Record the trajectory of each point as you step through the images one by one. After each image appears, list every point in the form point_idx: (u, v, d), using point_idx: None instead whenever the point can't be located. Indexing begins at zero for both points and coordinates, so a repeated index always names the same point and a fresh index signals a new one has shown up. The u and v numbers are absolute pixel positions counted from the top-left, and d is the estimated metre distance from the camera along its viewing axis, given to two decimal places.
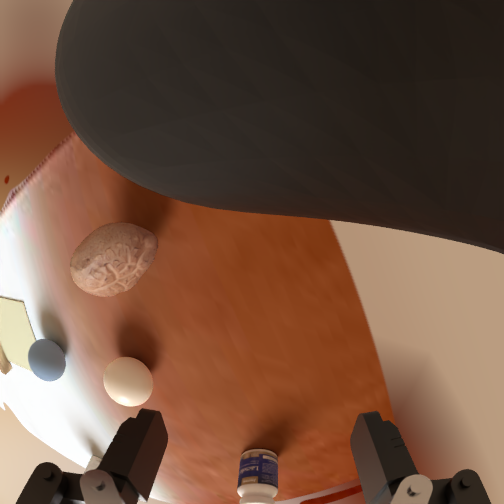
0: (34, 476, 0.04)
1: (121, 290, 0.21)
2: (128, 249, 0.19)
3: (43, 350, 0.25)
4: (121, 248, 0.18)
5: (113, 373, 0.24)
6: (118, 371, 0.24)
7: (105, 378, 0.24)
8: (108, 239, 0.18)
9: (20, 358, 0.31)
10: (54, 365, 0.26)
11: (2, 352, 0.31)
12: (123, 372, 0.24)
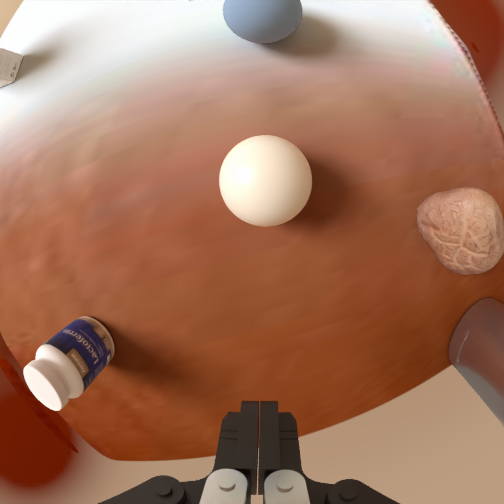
0: (145, 484, 0.05)
1: (440, 237, 0.16)
2: (483, 270, 0.15)
3: (297, 17, 0.14)
4: (489, 267, 0.14)
5: (307, 173, 0.16)
6: (309, 182, 0.16)
7: (292, 151, 0.15)
8: None
9: None
10: (270, 28, 0.14)
11: None
12: (308, 192, 0.16)
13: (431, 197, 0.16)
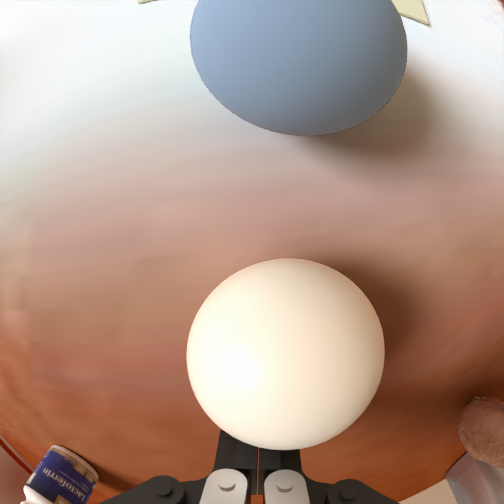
0: (145, 484, 0.05)
1: (476, 453, 0.08)
2: None
3: None
4: None
5: (381, 328, 0.07)
6: (384, 347, 0.07)
7: (349, 281, 0.07)
8: None
9: None
10: (327, 117, 0.05)
11: None
12: (382, 368, 0.06)
13: (487, 418, 0.08)
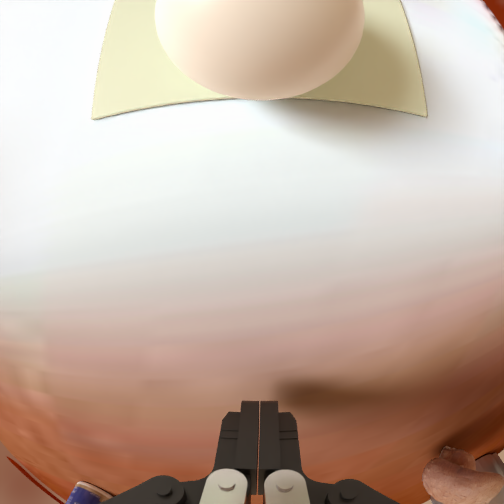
0: (145, 484, 0.05)
1: (436, 499, 0.09)
2: None
3: None
4: None
5: (357, 34, 0.05)
6: (359, 43, 0.05)
7: None
8: None
9: None
10: None
11: None
12: (352, 55, 0.06)
13: (443, 478, 0.09)
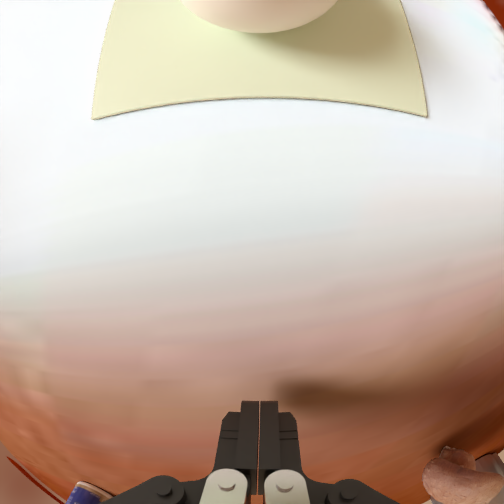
0: (145, 484, 0.05)
1: (436, 499, 0.09)
2: None
3: None
4: None
5: None
6: None
7: None
8: None
9: None
10: None
11: None
12: None
13: (443, 478, 0.09)
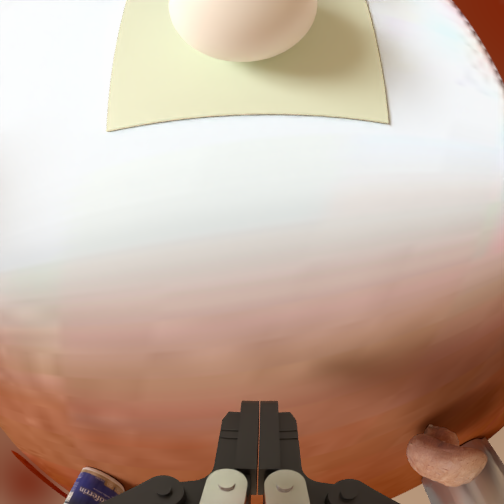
0: (145, 484, 0.05)
1: (420, 474, 0.11)
2: None
3: None
4: None
5: None
6: None
7: None
8: None
9: (157, 6, 0.10)
10: None
11: None
12: (313, 3, 0.06)
13: (425, 451, 0.11)
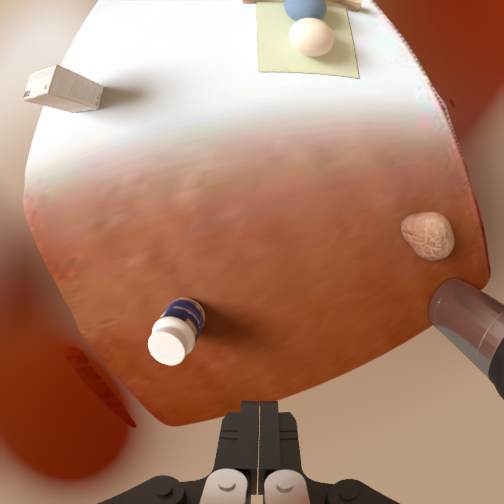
0: (145, 484, 0.05)
1: (413, 239, 0.30)
2: (440, 257, 0.29)
3: (323, 16, 0.26)
4: (444, 255, 0.28)
5: (332, 32, 0.25)
6: (333, 36, 0.25)
7: (324, 23, 0.24)
8: (451, 250, 0.28)
9: (272, 29, 0.29)
10: None
11: (270, 0, 0.27)
12: (333, 40, 0.26)
13: (408, 217, 0.30)
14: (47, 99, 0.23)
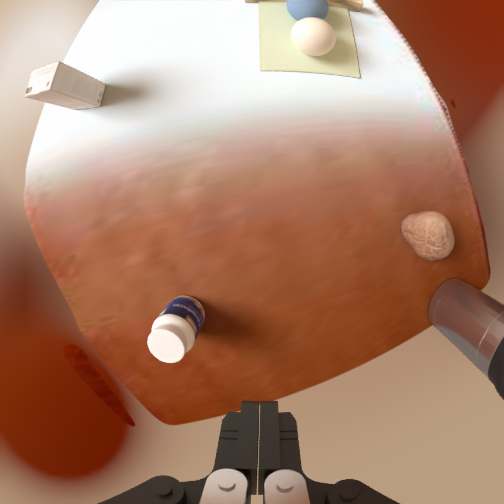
0: (145, 484, 0.05)
1: (414, 238, 0.30)
2: (441, 257, 0.29)
3: (325, 16, 0.26)
4: (444, 255, 0.29)
5: (334, 32, 0.25)
6: (335, 36, 0.25)
7: (326, 23, 0.24)
8: (451, 249, 0.28)
9: (274, 28, 0.29)
10: None
11: None
12: (335, 40, 0.26)
13: (409, 216, 0.30)
14: (49, 96, 0.23)
